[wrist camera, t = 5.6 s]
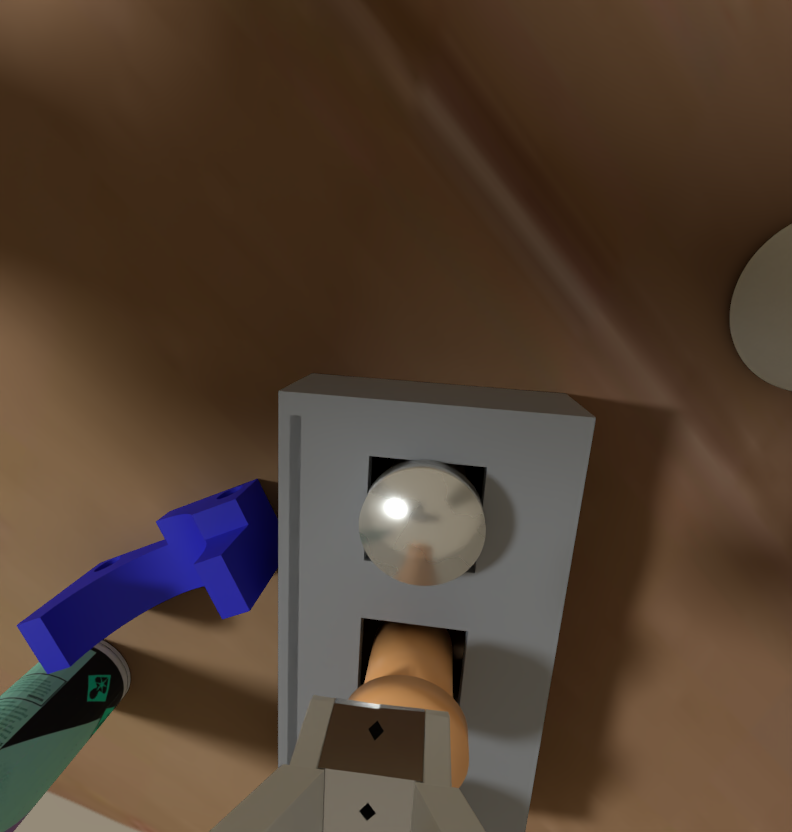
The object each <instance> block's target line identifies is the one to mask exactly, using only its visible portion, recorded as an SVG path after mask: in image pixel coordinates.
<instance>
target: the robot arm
mask: <svg viewBox="0 0 792 832" xmlns="http://www.w3.org/2000/svg"><path fill="white" fill-rule="evenodd" d="M209 832H486V831H485V830H484V828H483V827H482V825H481V823H480V822H479V820H478V818H477V817H476V815H475V813H474V812H473V810H472V809H471V807H470V805H469V804H468V802H467V800H466V799H465V797H464V796H463V794H462V792H461V791H460V789H459V788H455V787H452V780H451V745H450V716H449V713H448V712H445V711H437V710H428V709H426V710H425V709H420V708H411V707H402V706H393V705H384V704H373V703H367V702H360V701H354V700H347V699H341V698H331V697H325V696H318V695H313V697H312V698H311V700H310V702H309V705H308V709H307V712H306V715H305V718H304V721H303V724H302V727H301V730H300V734H299V737H298V740H297V743H296V746H295V749H294V752H293V755H292V759H291V762H290V765H286V764H282V765H281V766H280V767H279V768H278V769H277V770H276V771H275V772H273V773H272V774H271V775H270V776H269V777H268V778H267V779H266V780H265V781H264V782H263V783H261V784H260V785H259V786H258V787H257V788H256V789H255V790H254V791H253V792H252V793H251V794H249V795H248V796H247V797H246V798H245V799H244V800H243V801H242V802H241V803H240V804H239V805H238V806H236V807H235V808H234V809H233V810H232V811H231V812H230V813H229V814H228V815H227V816H226V817H224V818H223V819H222V820H221V821H220V822H219V823H218V824H217V825H216V826H215V827H214V828H212V829H211V830H210V831H209Z"/></svg>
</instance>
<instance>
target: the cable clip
mask: <svg viewBox="0 0 792 832" xmlns="http://www.w3.org/2000/svg"><path fill="white" fill-rule="evenodd" d="M156 523H157V525H158V527H159V528H160V530H161V532H162V534H163V536H164V538H165V540H162V541H159V542H156V543H154V544H151V545H148V546H145V547H143V548H140V549H137V550H134V551H131V552H129V553H126V554H123V555H120V556H118V557H115V558H112V559H109V560H107V561H104V562H101V563H99V564H98V565H97V566H95V567H94V568H93V569H91V570H90V571H89V572H87V573H86V574H85V575H83V576H82V577H81V578H79V579H78V580H77V581H75V582H74V583H73V584H71V585H70V586H69V587H67V588H66V589H65V590H63V591H62V592H61V593H59V594H58V595H57V596H55V597H54V598H53V599H51V600H50V601H49V602H47V603H46V604H44V605H43V606H42V607H40V608H39V609H38V610H36V611H35V612H34V613H32V614H31V615H30V616H28V617H27V618H26V619H24V620H23V621H22V622H20V623H19V624H18V625H17V627H18V628H19V630H20V632H21V633H22V635H23V636H24V638H25V640H26V641H27V643H28V644H29V646H30V648H31V649H32V651H33V652H34V654H35V656H36V657H37V659H38V660H39V662H40V663H41V665H42V667H43V668H44V670H45V671H46V673H47V674H50V673H53V672H56V671H59V670H62V669H66V668H69V667H71V666H72V665H73V664H74V663H75V662H76V661H77V660H79V659H80V658H81V657H82V656H83V655H84V654H85V653H87V652H88V651H89V650H90V649H92V648H93V647H94V646H95V645H97V644H98V643H99V642H100V641H102V640H103V639H104V638H106V637H107V636H108V635H110V634H111V633H113V632H114V631H115V630H117V629H118V628H120V627H121V626H123V625H124V624H126V623H127V622H129V621H130V620H132V619H134V618H135V617H137V616H138V615H140V614H142V613H144V612H145V611H147V610H149V609H151V608H152V607H154V606H156V605H158V604H160V603H162V602H164V601H166V600H168V599H170V598H172V597H175V596H177V595H179V594H182V593H184V592H187V591H189V590H192V589H195V588H199V587H203V586H205V588H206V590H207V592H208V594H209V596H210V597H211V599H212V601H213V603H214V605H215V607H216V609H217V611H218V612H219V614H220V616H221V618H222V619H225V618H229V617H232V616H235V615H238V614H241V613H245V612H248V611H250V610H251V608H252V607H253V605H254V604H255V602H256V601H257V599H258V598H259V596H260V594H261V593H262V591H263V590H264V588H265V587H266V585H267V584H268V582H269V581H270V579H271V577H272V576H273V574H274V573H275V571H276V570H277V568H278V519H277V517H276V515H275V513H274V511H273V509H272V507H271V505H270V503H269V501H268V499H267V497H266V495H265V493H264V491H263V489H262V486H261V484H260V482H259V480H258V479H255V480H253V481H250V482H247V483H244V484H242V485H239V486H236V487H234V488H231V489H228V490H226V491H223V492H220V493H218V494H215V495H212V496H210V497H207V498H204V499H202V500H199V501H196V502H194V503H191V504H188V505H186V506H183V507H180V508H178V509H175V510H172V511H170V512H168V513H167V514H166V515H164V516H163V517H162V518H160V519H159V520H158V521H156Z"/></svg>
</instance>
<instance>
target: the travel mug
mask: <svg viewBox="0 0 792 832" xmlns="http://www.w3.org/2000/svg"><path fill="white" fill-rule="evenodd" d="M730 330H731V336H732V339H733V343H734V345H735V348H736V350H737V352H738V354H739V356H740V358H741V359H742V360H743V362H744V363H745V364H746V366H747V367H748V368H749V369H750V370H751V371H752V372H753V373H754V374H755V375H757V376H758V377H760V378H761V379H762V380H764V381H766V382H768V383H769V384H772V385H774V386H776V387H779V388H782V389H785V390H789V391H792V224H790V225H789V226H787V227H785V228H784V229H782V230H781V231H779V232H778V233H777V234H775V235H774V236H773V237H771V238H770V239H769V240H768V241H767V242H766V243H765V244H764V245H763V246H762V247H761V248H760V249H759V250H758V251H757V252H756V253H755V254H754V256H753V257H752V258H751V259H750V261H749V262H748V264H747V265H746V267H745V268H744V270H743V272H742V273H741V276H740V278H739V280H738V282H737V284H736V287H735V290H734V293H733V297H732V301H731V306H730Z"/></svg>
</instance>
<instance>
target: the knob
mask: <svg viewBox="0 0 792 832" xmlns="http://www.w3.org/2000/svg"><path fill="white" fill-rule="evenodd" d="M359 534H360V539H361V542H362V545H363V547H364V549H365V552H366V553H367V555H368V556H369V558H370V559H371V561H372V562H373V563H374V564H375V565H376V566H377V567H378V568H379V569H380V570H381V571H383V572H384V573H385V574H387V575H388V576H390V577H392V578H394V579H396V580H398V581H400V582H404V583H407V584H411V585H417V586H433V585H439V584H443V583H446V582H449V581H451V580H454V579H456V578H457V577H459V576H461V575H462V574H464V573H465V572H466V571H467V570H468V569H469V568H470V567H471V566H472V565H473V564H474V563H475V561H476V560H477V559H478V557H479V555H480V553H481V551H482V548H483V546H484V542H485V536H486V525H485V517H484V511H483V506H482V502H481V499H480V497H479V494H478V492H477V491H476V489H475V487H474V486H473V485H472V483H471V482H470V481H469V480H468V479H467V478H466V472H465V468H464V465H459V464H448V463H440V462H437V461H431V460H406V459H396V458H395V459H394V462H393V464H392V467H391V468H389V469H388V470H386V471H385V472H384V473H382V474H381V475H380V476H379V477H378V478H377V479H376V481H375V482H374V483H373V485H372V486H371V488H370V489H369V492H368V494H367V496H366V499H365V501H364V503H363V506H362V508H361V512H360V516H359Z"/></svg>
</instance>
